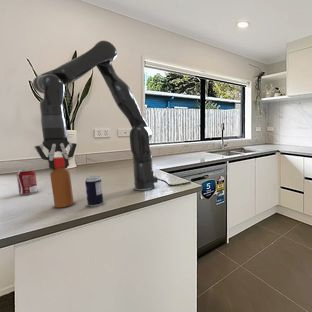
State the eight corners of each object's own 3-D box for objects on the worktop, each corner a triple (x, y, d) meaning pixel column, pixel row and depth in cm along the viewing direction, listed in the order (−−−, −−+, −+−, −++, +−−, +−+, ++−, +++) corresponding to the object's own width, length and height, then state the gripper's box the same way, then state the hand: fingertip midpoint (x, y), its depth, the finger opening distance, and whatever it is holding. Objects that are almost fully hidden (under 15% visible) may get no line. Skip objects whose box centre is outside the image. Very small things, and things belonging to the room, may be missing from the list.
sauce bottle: (74, 201, 98) (69, 157, 95) (72, 205, 92) (66, 159, 90) (56, 203, 95) (50, 158, 92) (53, 208, 89) (46, 161, 86)
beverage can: (99, 201, 99) (97, 175, 97) (105, 204, 95) (103, 176, 94) (85, 205, 94) (82, 177, 92) (91, 208, 91) (88, 179, 89)
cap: (53, 166, 92) (52, 157, 91) (65, 165, 94) (64, 156, 93) (52, 168, 88) (51, 158, 88) (65, 166, 91) (63, 157, 90)
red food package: (41, 192, 112) (38, 169, 111) (25, 196, 106) (21, 171, 104) (32, 190, 115) (29, 168, 113) (16, 194, 108) (12, 170, 107)
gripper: (71, 126, 97) (76, 165, 99) (28, 127, 85) (34, 170, 88) (78, 126, 92) (82, 167, 95) (33, 127, 81) (39, 173, 84)
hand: (59, 168), depth 91 cm, fingers closed on cap, 3 cm apart
